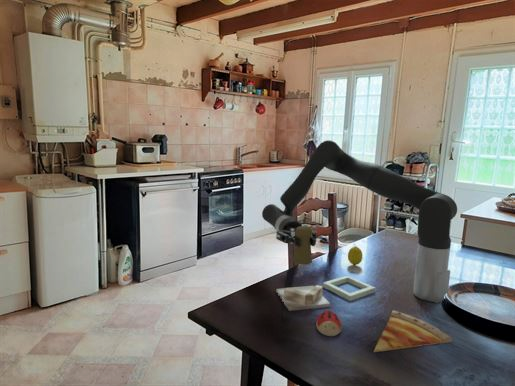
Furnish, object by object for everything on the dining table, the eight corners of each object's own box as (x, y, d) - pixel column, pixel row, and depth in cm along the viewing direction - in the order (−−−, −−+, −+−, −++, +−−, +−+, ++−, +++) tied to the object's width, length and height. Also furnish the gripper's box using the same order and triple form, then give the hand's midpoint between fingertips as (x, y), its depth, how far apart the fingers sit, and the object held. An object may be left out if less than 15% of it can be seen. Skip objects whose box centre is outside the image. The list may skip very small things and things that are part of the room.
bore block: (374, 292, 119) (375, 287, 119) (350, 300, 113) (350, 296, 113) (347, 279, 129) (347, 275, 129) (322, 286, 123) (323, 282, 122)
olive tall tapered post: (313, 264, 109) (315, 229, 107) (293, 264, 110) (294, 229, 108) (310, 257, 115) (312, 224, 113) (291, 257, 116) (293, 223, 114)
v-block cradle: (276, 291, 118) (276, 280, 117) (313, 288, 121) (313, 277, 121) (289, 310, 106) (289, 298, 105) (329, 306, 109) (330, 294, 108)
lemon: (345, 266, 142) (347, 247, 140) (349, 262, 147) (350, 243, 145) (360, 269, 139) (361, 249, 138) (363, 264, 144) (364, 245, 143)
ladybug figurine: (316, 337, 93) (317, 324, 92) (315, 317, 103) (315, 306, 102) (343, 339, 92) (344, 326, 92) (339, 319, 102) (339, 307, 101)
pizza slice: (343, 320, 102) (344, 314, 101) (412, 313, 107) (412, 307, 107) (373, 353, 87) (374, 346, 86) (451, 343, 92) (452, 336, 92)
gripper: (269, 218, 123) (284, 232, 106) (308, 216, 126) (329, 230, 110) (268, 239, 124) (283, 256, 108) (307, 237, 127) (327, 253, 111)
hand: (306, 243), depth 109 cm, fingers closed on olive tall tapered post, 4 cm apart
